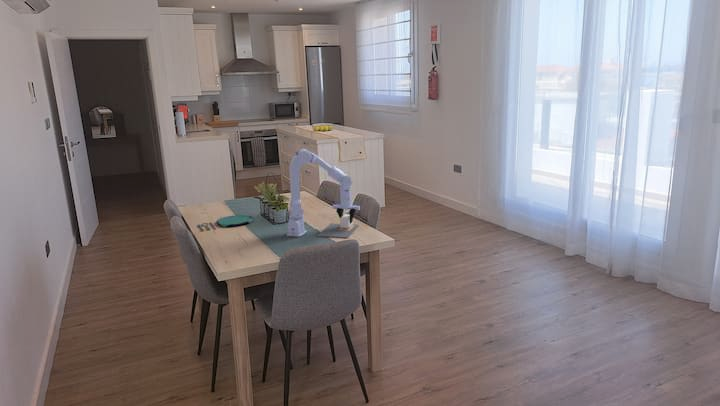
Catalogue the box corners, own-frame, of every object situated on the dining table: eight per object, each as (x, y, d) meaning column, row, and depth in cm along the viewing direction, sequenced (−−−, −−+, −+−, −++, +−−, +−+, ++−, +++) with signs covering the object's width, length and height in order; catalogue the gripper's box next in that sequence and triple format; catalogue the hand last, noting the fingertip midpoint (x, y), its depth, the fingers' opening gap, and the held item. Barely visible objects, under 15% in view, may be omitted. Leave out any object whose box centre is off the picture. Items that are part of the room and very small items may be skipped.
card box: (352, 223, 266) (352, 214, 265) (348, 227, 259) (348, 218, 258) (345, 223, 268) (344, 214, 266) (340, 227, 260) (340, 218, 259)
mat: (347, 238, 247) (347, 237, 247) (317, 236, 252) (317, 235, 251) (358, 225, 268) (358, 224, 268) (330, 224, 272) (330, 223, 272)
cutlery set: (257, 224, 277) (256, 220, 276) (202, 233, 264) (201, 229, 263) (247, 216, 294) (247, 212, 293) (195, 225, 281) (195, 221, 280)
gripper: (361, 196, 261) (361, 221, 265) (335, 195, 265) (336, 219, 268) (357, 199, 255) (358, 224, 258) (330, 198, 258) (331, 223, 262)
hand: (346, 222), depth 263 cm, fingers closed on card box, 4 cm apart
